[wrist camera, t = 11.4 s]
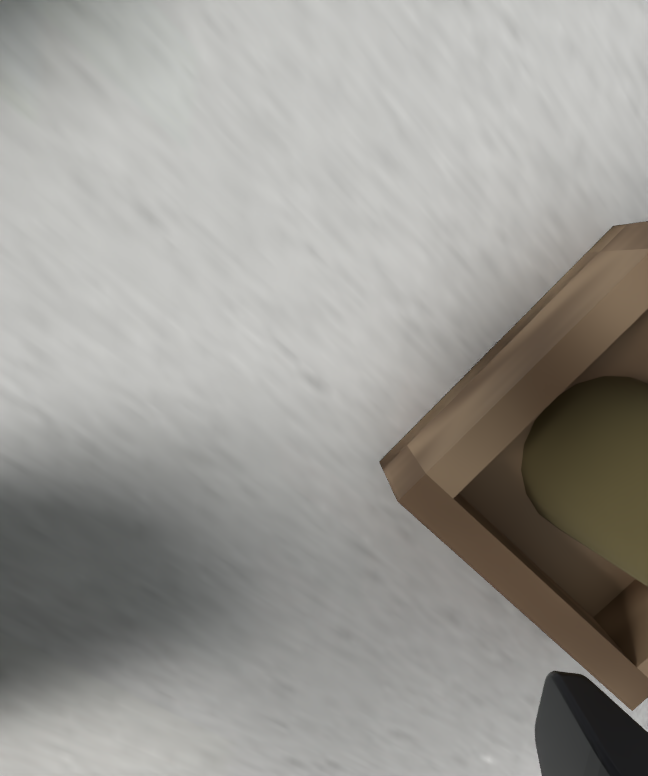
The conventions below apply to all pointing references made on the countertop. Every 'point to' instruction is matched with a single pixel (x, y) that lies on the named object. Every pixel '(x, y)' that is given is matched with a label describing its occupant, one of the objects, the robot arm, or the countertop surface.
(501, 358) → the tray
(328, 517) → the countertop surface
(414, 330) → the countertop surface
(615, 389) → the cork
